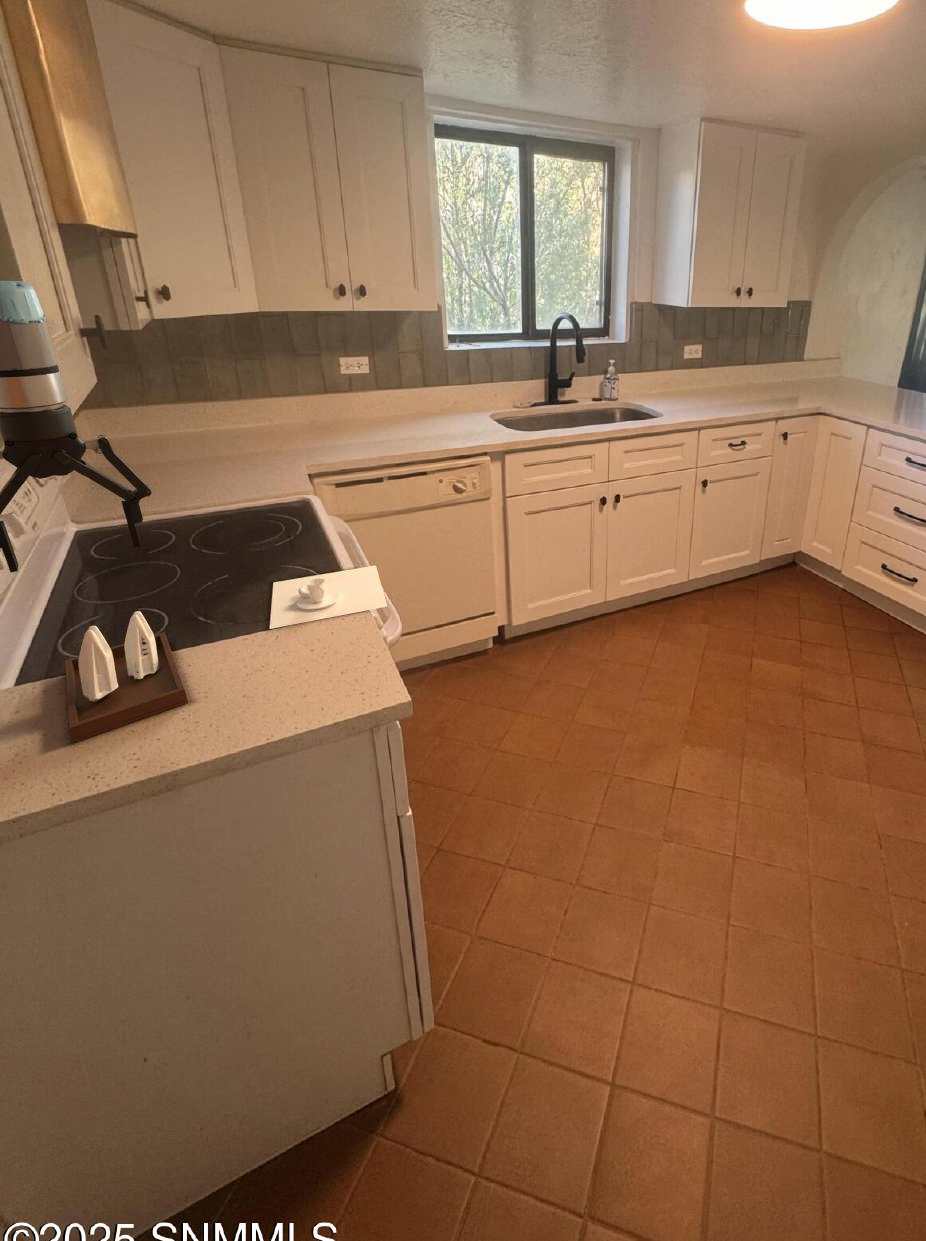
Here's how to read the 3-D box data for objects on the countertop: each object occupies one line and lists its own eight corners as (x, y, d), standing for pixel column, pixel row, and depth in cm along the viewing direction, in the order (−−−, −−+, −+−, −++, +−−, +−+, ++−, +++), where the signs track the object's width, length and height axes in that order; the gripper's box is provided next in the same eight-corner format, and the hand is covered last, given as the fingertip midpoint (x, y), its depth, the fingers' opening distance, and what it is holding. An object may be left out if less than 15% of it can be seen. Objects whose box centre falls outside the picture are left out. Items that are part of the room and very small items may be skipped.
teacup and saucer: (296, 594, 122) (292, 575, 121) (339, 586, 125) (336, 568, 124) (296, 614, 115) (292, 595, 113) (342, 606, 118) (339, 586, 116)
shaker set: (97, 712, 88) (74, 644, 84) (74, 707, 89) (49, 640, 85) (170, 664, 99) (152, 603, 95) (149, 661, 100) (130, 599, 96)
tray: (69, 673, 98) (64, 660, 97) (167, 644, 106) (164, 631, 105) (74, 742, 83) (69, 728, 82) (188, 702, 91) (184, 689, 90)
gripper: (144, 393, 91) (177, 528, 99) (-102, 413, 76) (-41, 570, 84) (150, 401, 86) (185, 542, 93) (-113, 424, 71) (-47, 590, 78)
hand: (78, 556), depth 88 cm, fingers open, 13 cm apart
